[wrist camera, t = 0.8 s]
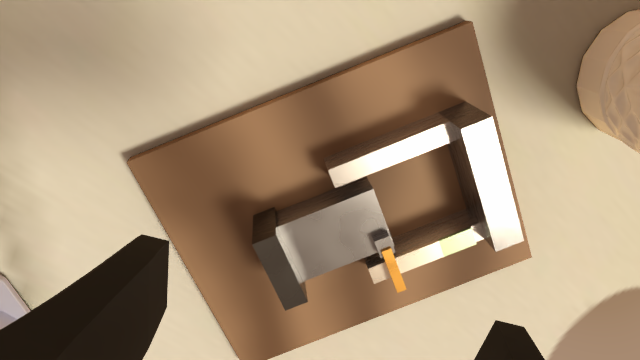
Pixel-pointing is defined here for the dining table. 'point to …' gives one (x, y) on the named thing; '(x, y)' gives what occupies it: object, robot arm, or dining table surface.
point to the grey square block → (322, 238)
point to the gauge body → (473, 176)
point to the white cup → (614, 80)
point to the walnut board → (321, 191)
